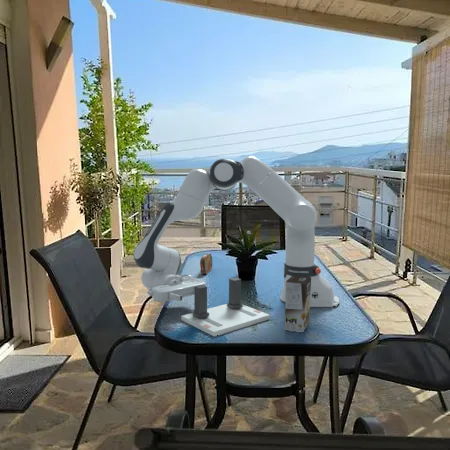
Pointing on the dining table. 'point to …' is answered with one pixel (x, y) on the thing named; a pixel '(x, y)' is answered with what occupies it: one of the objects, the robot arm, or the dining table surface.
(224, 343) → the dining table surface
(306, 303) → the coffee box
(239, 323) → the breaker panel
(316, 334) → the dining table surface
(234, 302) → the post
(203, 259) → the tin
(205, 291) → the post
